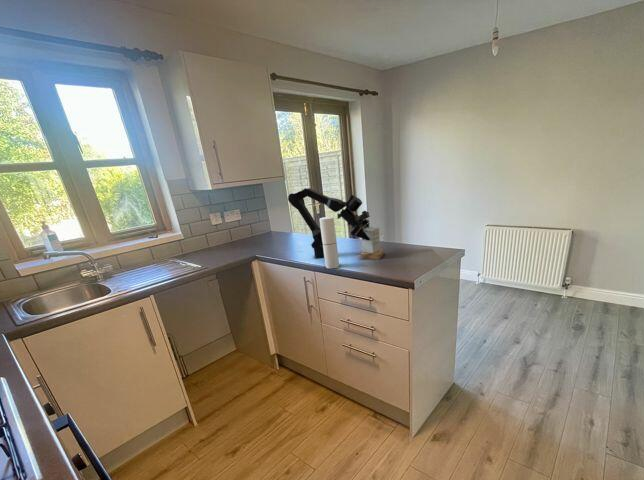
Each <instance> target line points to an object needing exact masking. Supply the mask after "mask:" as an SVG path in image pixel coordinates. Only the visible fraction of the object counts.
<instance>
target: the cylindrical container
mask: <svg viewBox="0 0 644 480" xmlns="http://www.w3.org/2000/svg"><path fill="white" fill-rule="evenodd" d="M335 225H336V223H335V217H334V216H324V217H320V218H319V228H320V229H321V235H322V242H323V250H324V257H323V258H324V264H325V268H326V269H329V270H330V269H336V268H339V267H340V258H339V252H338V245H337V244H338V242H337V232H336V228H335V227H336V226H335Z"/></svg>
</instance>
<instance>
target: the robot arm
mask: <svg viewBox="0 0 644 480" xmlns="http://www.w3.org/2000/svg"><path fill="white" fill-rule="evenodd" d="M307 197H308V198H310V199H313V200H314V201H317V202H319V203H321V204H324V205H325V206H327V208H328V209H329V210H330V211H332V212H334V213H337V214H336V215H337V220H339V219H341V218H342V219H343V220H344V221H345V222H346V223H347V225H348V226H351V227H352V229H351V230H350V235H351V236H352V237H356V238H360V239H361V240H362V239H365V240H368V241H369V240H370V238H369V237H368V236H367V235H366V233H365V232H364V230H363V229H364V228H367V227H370V220H369V218H370V217H371V216H370V212H368V211H366V210H363V211H362V212H361V214H359V215H358V214H355V213H354V212H357V211H358V210H359V208H360V207H361V206H362V205H363V201H362V199H360V198H359V197H357V196H355V194H352V195H351V196H350V197H349V199H348V200H347V201H343V200H342V199H339V198H335V197H330V196H327V195H325V194H322V193H321V192H318V191H316V190H314V189H312V188H311V187H305V188H303V189H302V190H300V191H295V192H291V193H289V194H288V196H287V201H288V202H289V203H290V205H291V206H292V207H293V208H294V209H296V210H297V211H298V212H299V214H300V215H301V217H302V219H303V220H304V222H305V223H306V225H307V226H308V228H309V230H310V231H311V235H312V239H313V241H312V243H311V244H310V246H311V248H312V249H313V254H314V259H320V258H324V250H323V242H322V235H321V227H320V226H319V225H318V224H317V222H316V220H315V218H314V217H313V216H312V214H311V212H310V210H309V209H308V208H307V206H306V204H305V198H307ZM339 211H340V212H339Z"/></svg>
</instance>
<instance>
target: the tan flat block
mask: <svg viewBox="0 0 644 480" xmlns="http://www.w3.org/2000/svg"><path fill="white" fill-rule="evenodd" d="M384 254H385V249H384V248H380V250H379V251H377V252H375V253H368V252H363V251H362V252H361V253H359V259H360V260H381V259H382V258H383V256H385V255H384Z"/></svg>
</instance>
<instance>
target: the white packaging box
mask: <svg viewBox="0 0 644 480" xmlns="http://www.w3.org/2000/svg"><path fill="white" fill-rule="evenodd" d="M363 230H364V232H365V233H366V235H367V236H368V237H369V238H370V240H369V241H368V240H365V239H362V238H361V248H362V252H368V253H375V252H377V251H379V250H380V249H381V242H380V241H381V240H380V227H374V226H373V227H371V226H369V227H367V228H364V229H363Z"/></svg>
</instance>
